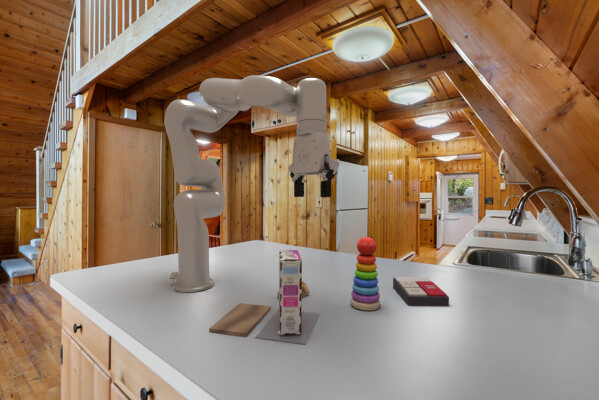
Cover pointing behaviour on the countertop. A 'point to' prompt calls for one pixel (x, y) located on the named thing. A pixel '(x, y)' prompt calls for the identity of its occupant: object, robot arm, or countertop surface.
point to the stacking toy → (366, 277)
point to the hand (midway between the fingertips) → (312, 197)
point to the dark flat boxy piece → (420, 291)
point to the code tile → (273, 333)
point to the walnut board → (240, 320)
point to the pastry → (303, 290)
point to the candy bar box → (290, 292)
